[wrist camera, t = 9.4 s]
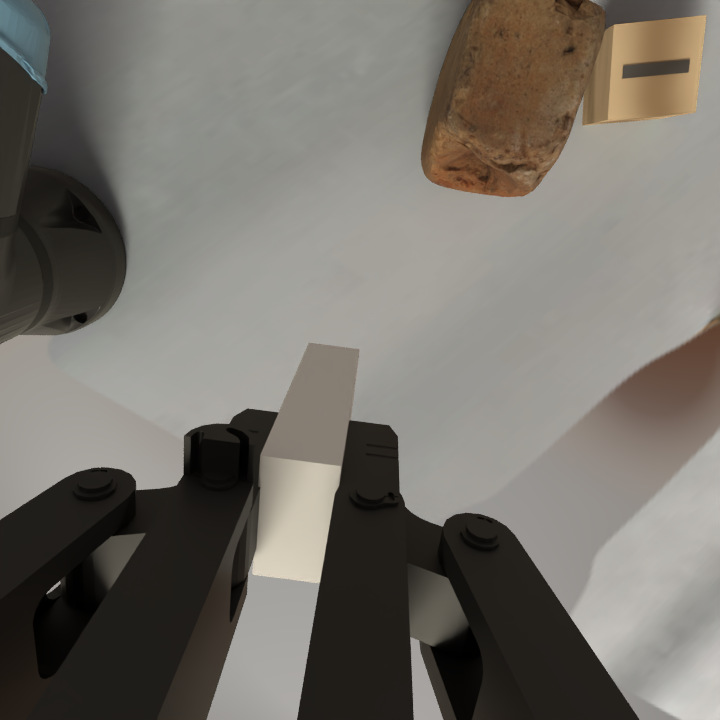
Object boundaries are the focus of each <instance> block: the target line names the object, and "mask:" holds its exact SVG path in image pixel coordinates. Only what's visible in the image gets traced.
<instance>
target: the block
mask: <svg viewBox="0 0 720 720" xmlns="http://www.w3.org/2000/svg"><path fill="white" fill-rule="evenodd" d="M604 32H605V11H604V10H603V9H602V8H601V7H600V6H598V5H597V4H595V3H593V2H591V1H589V0H472V2H471V3H470V5H469V6H468V8H467V10H466V11H465V13H464V15H463V17H462V19H461V21H460V23H459V25H458V28H457V30H456V32H455V34H454V36H453V39H452V42H451V44H450V47H449V50H448V52H447V55H446V58H445V61H444V63H443V66H442V70H441V72H440V76H439V79H438V83H437V86H436V89H435V93H434V97H433V100H432V104H431V108H430V112H429V116H428V120H427V125H426V130H425V134H424V139H423V145H422V152H421V163H422V168H423V171H424V174H425V176H426V177H427V178H428V179H429V180H430V181H432V182H433V183H435V184H437V185H440V186H443V187H446V188H451V189H455V190H461V191H466V192H471V193H479V194H486V195H495V196H501V197H515V196H525V195H527V194H528V193H530V192H531V191H533V190H534V189H535V188H536V187H537V186H538V185H539V184H540V182H541V181H542V179H543V178H544V176H545V175H546V174H547V172H548V171H549V170H550V169H551V168H552V166H553V165H554V163H555V162H556V160H557V159H558V157H559V155H560V153H561V151H562V150H563V148H564V146H565V143H566V141H567V139H568V137H569V135H570V132H571V129H572V126H573V123H574V120H575V117H576V113H577V110H578V108H579V105H580V103H581V100H582V97H583V95H584V92H585V90H586V87H587V85H588V82H589V80H590V77H591V74H592V71H593V67H594V64H595V61H596V58H597V56H598V53H599V51H600V48H601V44H602V40H603V36H604Z"/></svg>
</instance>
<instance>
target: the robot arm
mask: <svg viewBox="0 0 720 720" xmlns="http://www.w3.org/2000/svg"><path fill="white" fill-rule="evenodd" d="M50 39H51V37H50V29H49V25H48V23H47V21H46V18H45V17H44V15H43V13H42V12H41V10H40V9H39V8H38V7H37V6H36V4H35V3H34V2H33V1H32V0H0V344H1V343H3V342H5V341H7V340H9V339H12V338H13V337H15V336H18V335H60V334H65V333H70V332H73V331H76V330H79V329H81V328H83V327H85V326H87V325H89V324H91V323H93V322H95V321H96V320H98V319H99V318H101V317H102V316H103V315H104V314H106V313H107V312H108V311H109V310H110V308H111V307H112V306H113V305H114V303H115V302H116V300H117V298H118V296H119V294H120V292H121V289H122V286H123V283H124V278H125V269H126V260H125V251H124V246H123V242H122V238H121V235H120V233H119V230H118V228H117V226H116V224H115V222H114V220H113V218H112V216H111V215H110V213H109V212H108V210H107V209H106V207H105V206H104V205H103V203H102V202H101V201H100V200H99V199H98V198H97V197H96V196H95V195H94V194H93V193H92V192H91V191H90V190H89V189H88V188H86V187H85V186H84V185H82V184H81V183H79V182H78V181H76V180H75V179H73V178H71V177H69V176H67V175H65V174H63V173H60V172H58V171H55V170H51V169H47V168H41V167H29V162H30V157H31V151H32V146H33V141H34V135H35V130H36V125H37V119H38V114H39V109H40V103H41V98H42V94H46V93H47V89H48V85H47V82H46V80H45V76H46V69H47V62H48V55H49V47H50ZM358 357H359V349H353V348H345V347H337V346H330V345H322V344H314V343H309V344H308V346H307V349H306V351H305V353H304V356H303V358H302V360H301V363H300V365H299V367H298V369H297V372H296V374H295V376H294V379H293V381H292V383H291V386H290V388H289V390H288V392H287V395H286V397H285V399H284V402H283V404H282V406H281V409H280V411H279V413H278V412H270V411H262V410H255V409H246V410H244V411H243V412H241V413H239V414H237V415H236V416H234V417H233V419H232V420H231V422H230V424H210V425H204V426H200V427H198V428H195V429H192V430H191V431H189V432H188V433H187V434H186V435H185V436H184V475H183V477H182V478H181V480H180V481H179V483H178V485H177V486H174V487H169V488H161V489H150V490H136V481H135V479H134V478H133V477H132V475H131V474H129V473H127V472H125V471H123V470H120V469H114V468H103V467H101V468H91V469H88V470H84V471H80V472H76V473H75V474H73V475H70V476H68V477H66V478H64V479H63V480H61V481H60V482H58V483H56V484H55V485H53V486H52V487H50V488H49V489H47V490H46V491H44V492H42V493H41V494H39V495H38V496H37V497H35V498H33V499H32V500H30V501H29V502H27V503H26V504H24V505H22V506H21V507H19V508H18V509H16V510H15V511H14V512H12V513H10V514H9V515H7V516H5V517H4V518H2V519H1V520H0V720H206V719H207V716H208V713H209V710H210V707H211V704H212V700H213V697H214V694H215V691H216V688H217V685H218V682H219V679H220V676H221V673H222V669H223V666H224V663H225V660H226V657H227V654H228V651H229V648H230V645H231V641H232V638H233V635H234V632H235V629H236V626H237V623H238V620H239V617H240V614H241V610H242V607H243V604H244V601H245V598H246V595H247V582H248V572H249V569H250V566H251V563H252V560H253V575H261V576H268V577H276V578H284V579H291V580H299V581H306V582H314V583H320V586H319V592H318V598H317V605H316V610H315V616H314V622H313V628H312V634H311V640H310V646H309V652H308V658H307V664H306V670H305V676H304V682H303V688H302V694H301V700H300V706H299V712H298V718H297V720H414V718H413V693H412V670H411V645H410V637H412V638H415V639H417V640H419V641H420V650H421V654H422V657H423V660H424V663H425V666H426V669H427V672H428V675H429V678H430V681H431V684H432V687H433V690H434V693H435V696H436V699H437V702H438V704H439V708H440V711H441V713H442V716H443V719H444V720H639V718H638V717H637V715H636V714H635V712H634V711H633V709H632V708H631V706H630V705H629V703H628V702H627V700H626V699H625V698H624V696H623V695H622V693H621V692H620V690H619V689H618V687H617V686H616V684H615V683H614V681H613V680H612V678H611V677H610V675H609V674H608V672H607V671H606V669H605V668H604V666H603V665H602V663H601V662H600V660H599V659H598V658H597V656H596V655H595V653H594V652H593V650H592V649H591V647H590V646H589V644H588V643H587V641H586V640H585V638H584V637H583V635H582V634H581V632H580V631H579V629H578V628H577V626H576V625H575V623H574V622H573V621H572V619H571V618H570V616H569V615H568V613H567V612H566V610H565V609H564V607H563V606H562V604H561V603H560V601H559V600H558V598H557V597H556V595H555V594H554V592H553V591H552V589H551V588H550V586H549V585H548V584H547V582H546V581H545V579H544V578H543V576H542V575H541V573H540V572H539V570H538V569H537V567H536V566H535V564H534V563H533V561H532V560H531V558H530V557H529V556H528V554H527V553H526V551H525V549H524V548H523V546H522V545H521V544H520V542H519V541H518V539H517V538H516V536H515V535H514V534H513V533H512V532H511V531H510V530H509V529H508V528H507V526H505V525H503V524H502V523H500V522H498V521H497V520H495V519H493V518H490V517H488V516H484V515H481V514H472V513H463V514H456V515H454V516H452V517H450V518H449V519H447V520H446V522H445V524H444V526H443V527H441V526H439V525H436V524H433V523H430V522H428V521H425V520H423V519H421V518H419V517H417V516H416V515H414V514H413V513H411V512H410V511H409V510H408V509H407V508H406V507H405V503H404V500H403V497H402V495H401V494H400V491H399V460H398V436H397V435H396V434H395V432H394V431H393V430H392V429H391V427H390V426H389V425H382V424H374V423H366V422H359V421H351V413H352V405H353V397H354V389H355V381H356V373H357V365H358ZM253 557H254V559H253ZM59 581H60V582H61V584H60V585H59V586H58V587H56V588H55V589H54V590H53V591H52V592H50V593H48V594H46V593H47V592H48V591H49V590H50V589H51V588H52V587H53V586H54V585H55V584H56V583H58V582H59Z"/></svg>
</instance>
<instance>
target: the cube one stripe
mask: <svg viewBox="0 0 720 720" xmlns="http://www.w3.org/2000/svg"><path fill="white" fill-rule="evenodd" d="M705 24H706V15H703V16H693V17H684V18H674V19H664V20H654V21H644V22H635V23H625V24H615V25H613V26H611V27H609V28H608V29H606V30H605V32H604V36H603V40H602V44H601V48H600V51H599V53H598V56H597V58H596V61H595V64H594V67H593V71H592V74H591V77H590V80H589V82H588V85H587V87H586V90H585V92H584V102H583V122H582V125H593V124H605V123H616V122H628V121H640V120H651V119H661V118H666V117H672V116H678V115H683V114H689V113H695V112H696V104H697V95H698V86H699V77H700V68H701V59H702V50H703V42H704V33H705Z"/></svg>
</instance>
